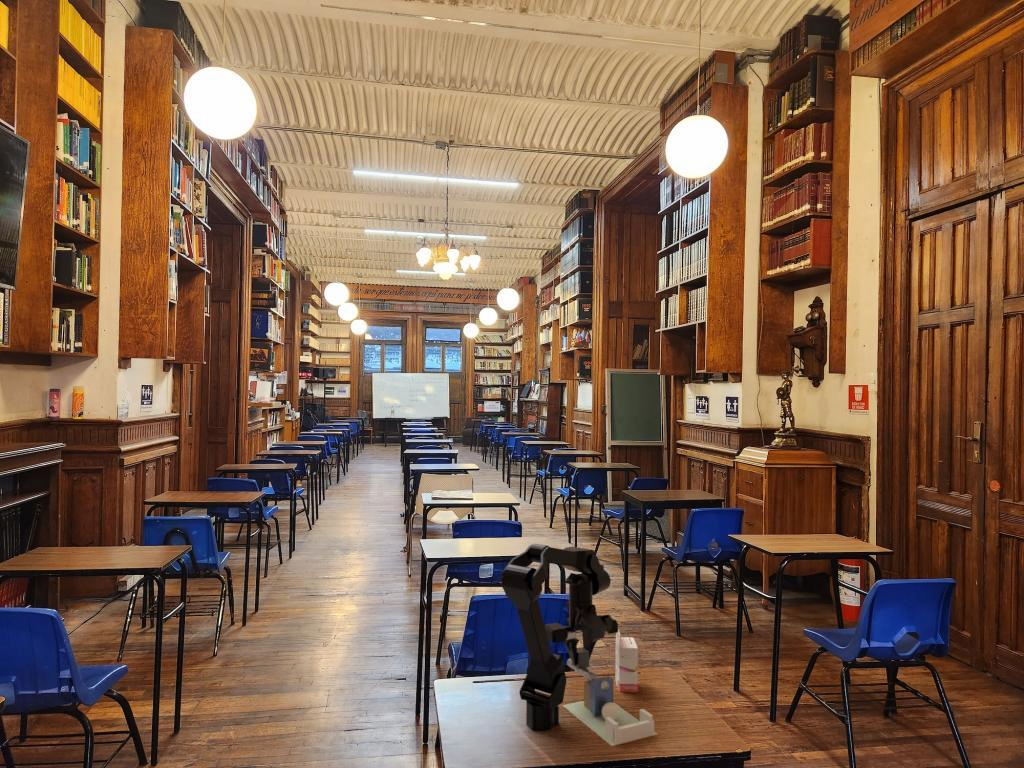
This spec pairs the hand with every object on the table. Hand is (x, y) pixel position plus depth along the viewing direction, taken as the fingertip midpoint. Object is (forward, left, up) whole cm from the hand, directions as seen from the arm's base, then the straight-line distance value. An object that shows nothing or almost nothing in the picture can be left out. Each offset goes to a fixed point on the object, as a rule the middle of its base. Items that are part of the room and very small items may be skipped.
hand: (580, 663), depth 163 cm
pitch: (0, -12, -9) cm, 15 cm away
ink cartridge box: (+15, +2, -10) cm, 18 cm away
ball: (0, -13, -6) cm, 14 cm away
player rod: (0, -3, -8) cm, 8 cm away
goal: (0, -20, -8) cm, 22 cm away
